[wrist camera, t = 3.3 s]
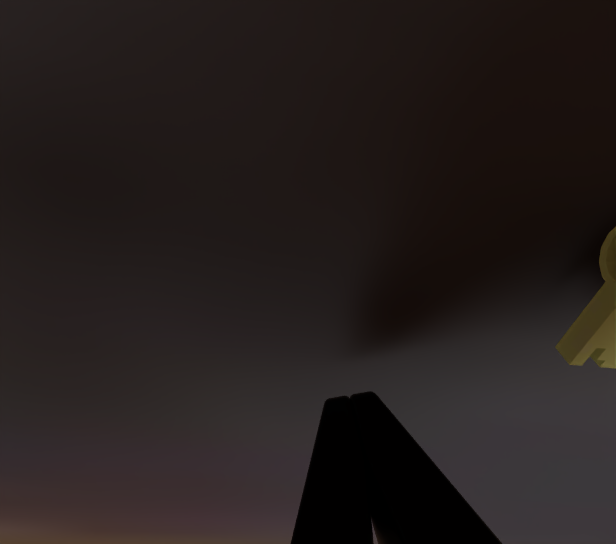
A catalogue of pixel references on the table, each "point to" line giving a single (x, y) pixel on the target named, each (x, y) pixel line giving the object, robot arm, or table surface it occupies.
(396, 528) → the robot arm
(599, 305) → the key
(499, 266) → the table surface
